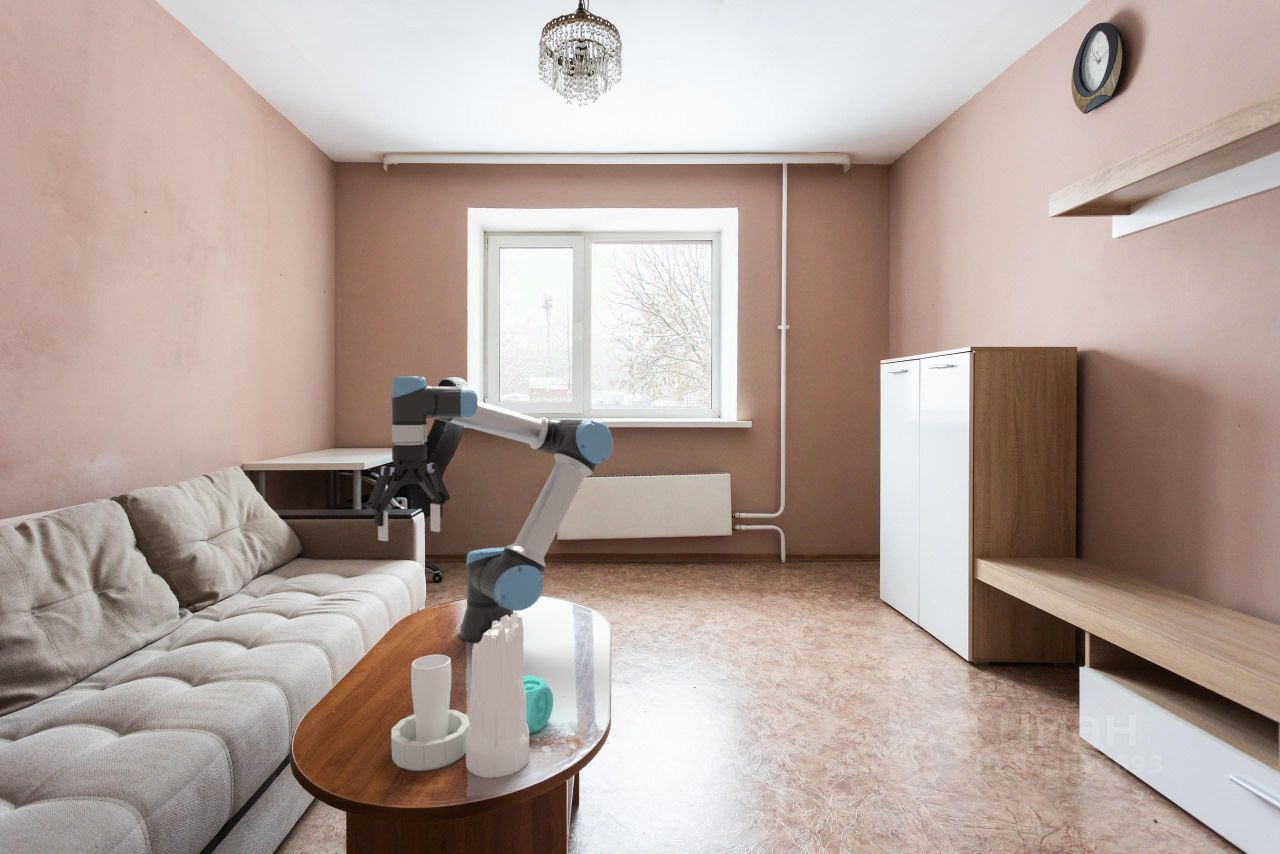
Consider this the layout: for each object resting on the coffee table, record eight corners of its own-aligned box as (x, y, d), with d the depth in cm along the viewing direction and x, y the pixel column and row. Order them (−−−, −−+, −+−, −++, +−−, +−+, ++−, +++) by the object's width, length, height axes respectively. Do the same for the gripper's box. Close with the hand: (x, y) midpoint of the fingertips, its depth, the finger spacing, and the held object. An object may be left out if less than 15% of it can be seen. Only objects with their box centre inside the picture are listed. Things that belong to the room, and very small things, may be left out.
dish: (439, 725, 121) (439, 703, 121) (484, 746, 113) (484, 722, 113) (376, 754, 111) (376, 730, 111) (421, 780, 103) (421, 753, 103)
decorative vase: (470, 783, 102) (469, 630, 101) (461, 751, 112) (460, 611, 111) (536, 768, 106) (536, 621, 106) (522, 739, 116) (521, 603, 116)
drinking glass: (405, 745, 112) (404, 661, 112) (440, 731, 117) (439, 651, 117) (423, 759, 108) (422, 672, 107) (459, 744, 113) (458, 660, 112)
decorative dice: (520, 711, 127) (519, 672, 127) (553, 720, 123) (553, 679, 123) (494, 729, 120) (494, 688, 119) (529, 739, 116) (529, 696, 116)
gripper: (445, 441, 157) (445, 526, 158) (348, 445, 137) (349, 542, 138) (464, 442, 153) (464, 529, 153) (367, 446, 133) (368, 546, 133)
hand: (410, 535), depth 146 cm, fingers open, 13 cm apart
